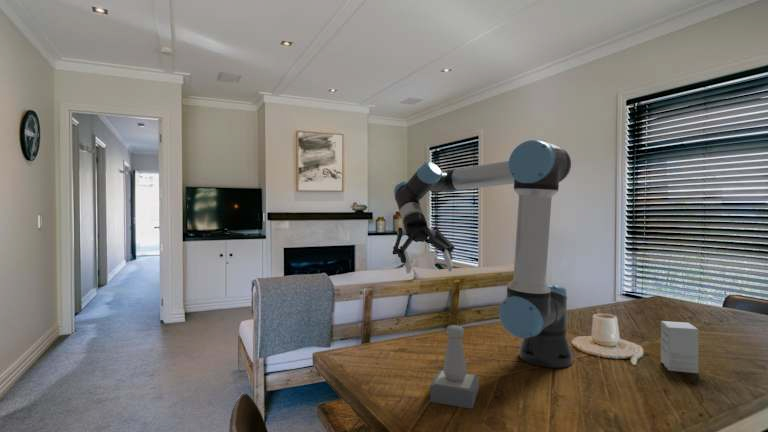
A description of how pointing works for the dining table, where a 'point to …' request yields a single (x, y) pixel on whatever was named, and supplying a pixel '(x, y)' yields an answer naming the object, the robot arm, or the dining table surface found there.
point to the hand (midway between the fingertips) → (430, 269)
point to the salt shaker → (455, 355)
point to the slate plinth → (454, 390)
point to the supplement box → (679, 346)
